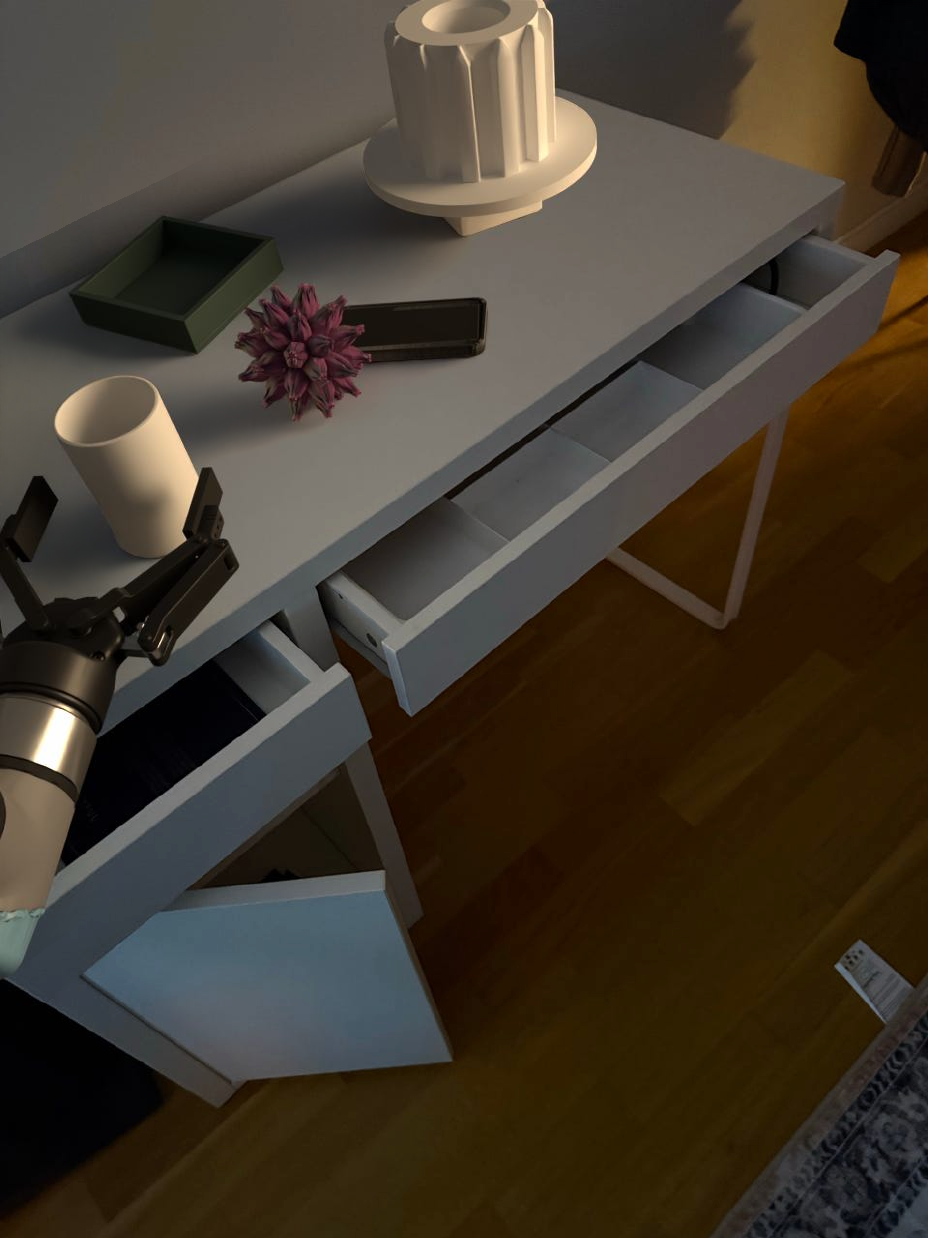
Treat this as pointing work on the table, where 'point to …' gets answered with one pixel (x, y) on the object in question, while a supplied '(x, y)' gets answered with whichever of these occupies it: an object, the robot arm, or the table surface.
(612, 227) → the table surface
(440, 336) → the phone
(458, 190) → the flanged gear
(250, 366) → the flower
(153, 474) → the mug
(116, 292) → the bin
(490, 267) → the table surface
